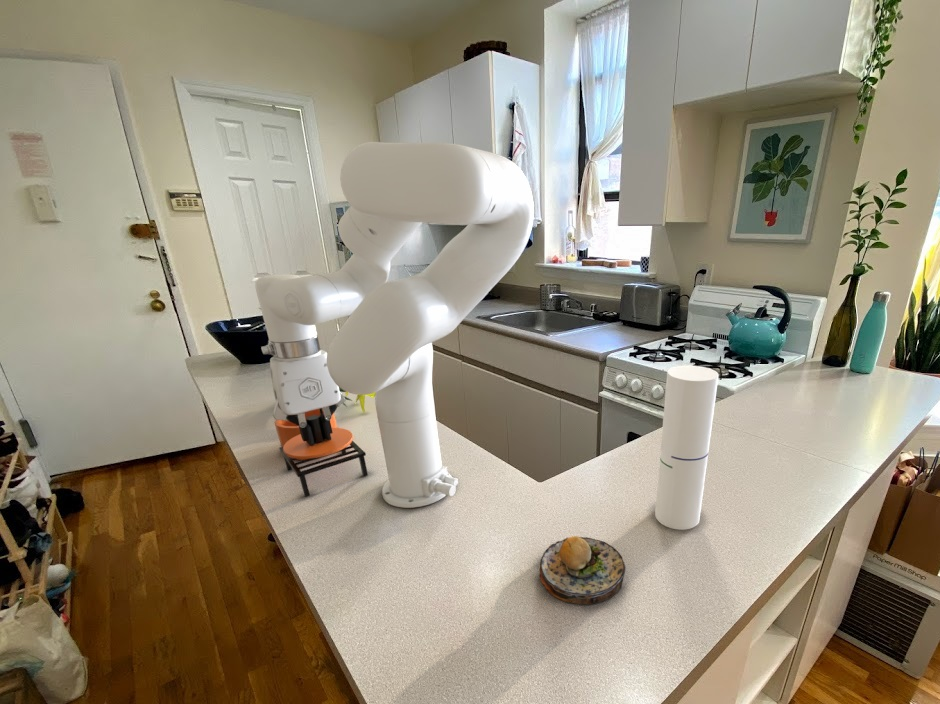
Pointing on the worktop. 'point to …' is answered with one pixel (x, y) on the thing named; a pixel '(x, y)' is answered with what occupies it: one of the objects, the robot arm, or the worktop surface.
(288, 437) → the pot
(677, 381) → the cylindrical container
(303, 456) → the lid
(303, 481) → the rack
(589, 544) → the burger
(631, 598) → the worktop surface
